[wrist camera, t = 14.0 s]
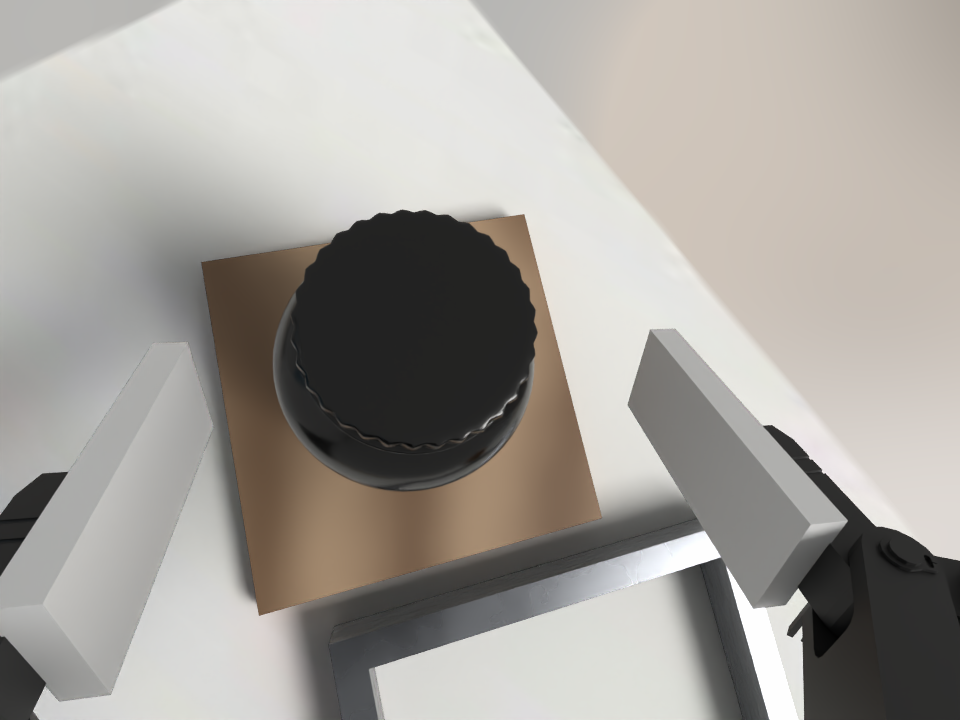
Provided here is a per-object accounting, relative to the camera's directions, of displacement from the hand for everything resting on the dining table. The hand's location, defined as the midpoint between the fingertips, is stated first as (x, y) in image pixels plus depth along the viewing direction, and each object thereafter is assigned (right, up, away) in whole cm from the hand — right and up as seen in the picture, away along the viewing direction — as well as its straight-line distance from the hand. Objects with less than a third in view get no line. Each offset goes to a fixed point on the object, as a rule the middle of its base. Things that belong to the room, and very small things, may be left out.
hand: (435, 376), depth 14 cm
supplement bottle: (-2, -1, +8) cm, 8 cm away
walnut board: (-2, -1, +8) cm, 9 cm away
